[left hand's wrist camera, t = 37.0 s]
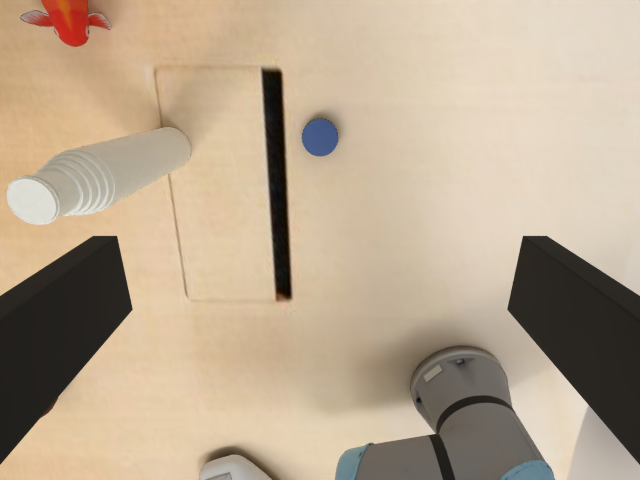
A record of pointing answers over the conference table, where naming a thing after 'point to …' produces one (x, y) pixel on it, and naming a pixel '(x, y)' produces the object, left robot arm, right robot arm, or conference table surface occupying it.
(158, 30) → the conference table surface
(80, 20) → the fish
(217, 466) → the projector
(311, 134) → the cap
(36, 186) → the bottle
